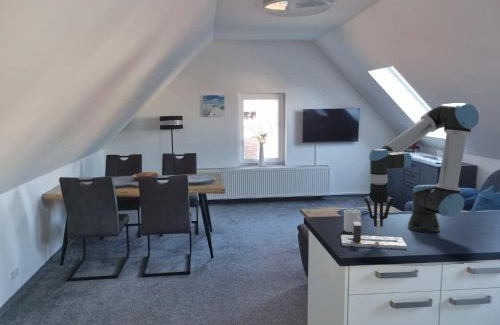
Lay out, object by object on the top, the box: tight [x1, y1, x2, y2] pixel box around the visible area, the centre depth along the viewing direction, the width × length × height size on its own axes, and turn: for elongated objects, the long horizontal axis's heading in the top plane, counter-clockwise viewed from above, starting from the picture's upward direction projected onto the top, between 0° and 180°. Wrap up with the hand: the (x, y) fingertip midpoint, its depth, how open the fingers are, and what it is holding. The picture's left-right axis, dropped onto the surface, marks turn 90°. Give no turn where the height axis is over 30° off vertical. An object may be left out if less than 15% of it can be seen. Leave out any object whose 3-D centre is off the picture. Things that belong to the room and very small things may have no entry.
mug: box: [343, 208, 363, 234], centre depth 211 cm, size 12×8×10 cm
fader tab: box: [352, 222, 362, 240], centre depth 194 cm, size 3×6×7 cm, turn 170°
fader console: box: [340, 234, 408, 250], centre depth 193 cm, size 28×13×2 cm, turn 80°
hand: (378, 233), depth 192 cm, fingers closed
